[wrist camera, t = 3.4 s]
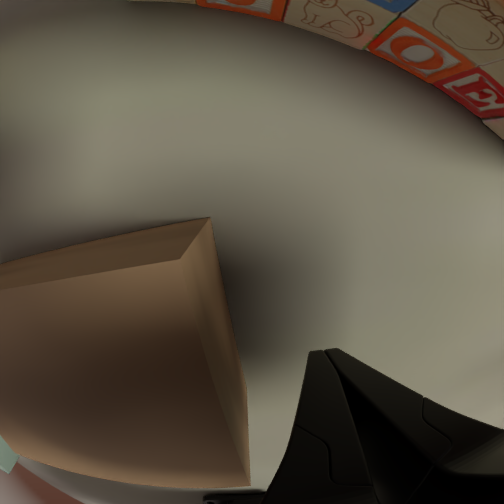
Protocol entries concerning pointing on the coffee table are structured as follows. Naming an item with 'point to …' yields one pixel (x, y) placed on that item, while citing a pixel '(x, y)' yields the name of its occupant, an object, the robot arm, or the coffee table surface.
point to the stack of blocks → (409, 40)
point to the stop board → (7, 456)
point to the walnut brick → (125, 361)
